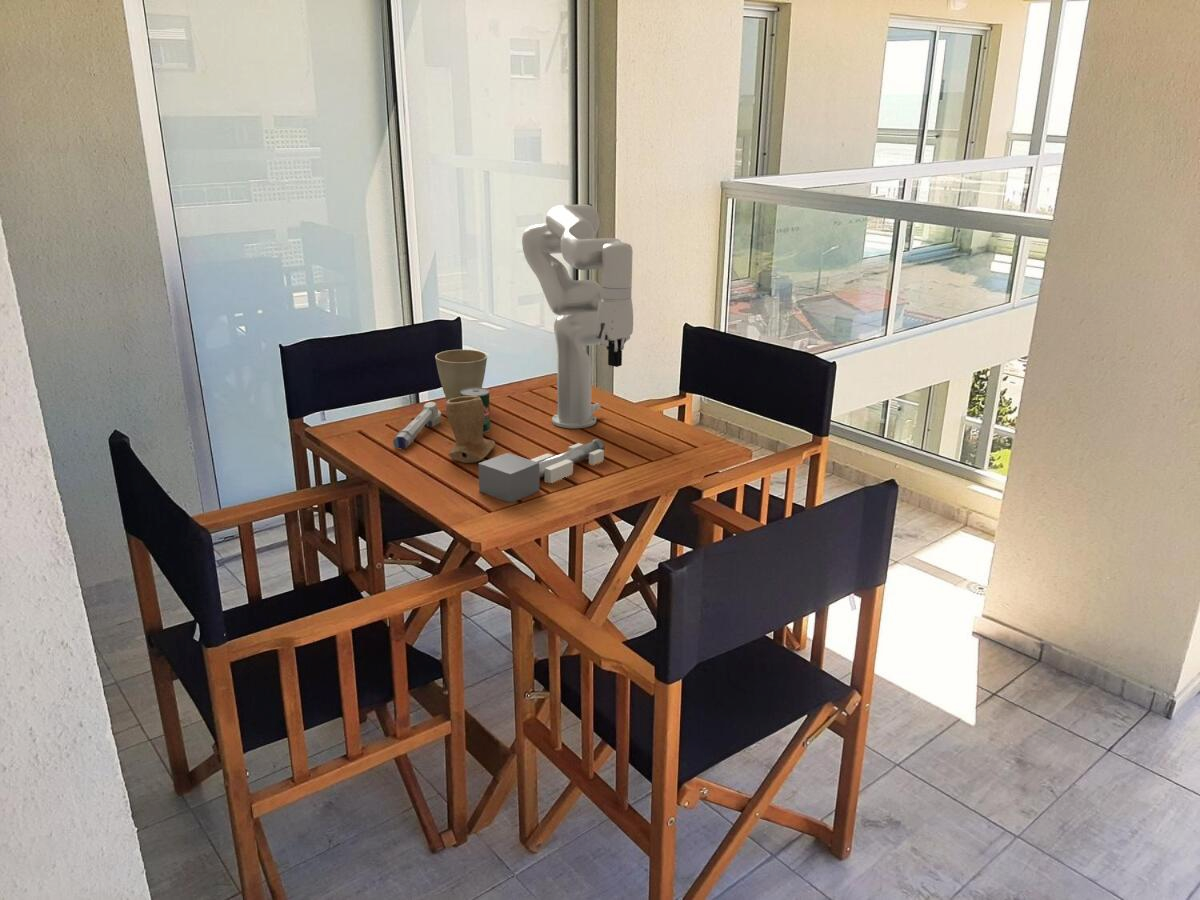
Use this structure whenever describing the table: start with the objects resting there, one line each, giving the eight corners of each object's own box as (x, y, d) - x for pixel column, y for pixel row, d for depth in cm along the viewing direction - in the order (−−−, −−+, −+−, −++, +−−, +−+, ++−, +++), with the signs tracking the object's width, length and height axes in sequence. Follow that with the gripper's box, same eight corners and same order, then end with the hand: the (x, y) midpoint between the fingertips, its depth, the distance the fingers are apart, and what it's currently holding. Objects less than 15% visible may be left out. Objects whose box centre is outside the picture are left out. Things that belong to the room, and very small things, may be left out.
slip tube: (592, 451, 243) (592, 437, 242) (604, 455, 241) (604, 440, 239) (528, 477, 226) (528, 461, 224) (541, 481, 223) (541, 465, 222)
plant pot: (428, 412, 273) (425, 358, 268) (452, 398, 286) (450, 347, 281) (474, 418, 268) (472, 364, 263) (496, 404, 282) (495, 352, 276)
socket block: (508, 480, 225) (507, 452, 222) (539, 490, 219) (539, 462, 216) (479, 491, 218) (478, 463, 215) (510, 502, 212) (510, 474, 209)
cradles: (578, 453, 242) (578, 441, 241) (603, 461, 237) (603, 448, 236) (525, 475, 228) (525, 461, 227) (550, 483, 223) (550, 470, 222)
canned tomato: (488, 434, 256) (487, 395, 252) (459, 433, 256) (458, 395, 252) (492, 425, 263) (491, 387, 259) (464, 424, 263) (462, 386, 259)
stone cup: (456, 443, 249) (454, 388, 244) (499, 446, 247) (498, 391, 242) (436, 462, 235) (434, 405, 230) (482, 466, 233) (480, 409, 228)
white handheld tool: (389, 435, 242) (424, 395, 264) (392, 458, 245) (427, 417, 267) (408, 437, 241) (442, 397, 263) (411, 459, 244) (444, 418, 266)
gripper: (622, 288, 240) (621, 357, 246) (585, 295, 229) (584, 368, 235) (646, 291, 236) (644, 362, 242) (609, 299, 225) (607, 373, 231)
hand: (614, 365), depth 239 cm, fingers closed
